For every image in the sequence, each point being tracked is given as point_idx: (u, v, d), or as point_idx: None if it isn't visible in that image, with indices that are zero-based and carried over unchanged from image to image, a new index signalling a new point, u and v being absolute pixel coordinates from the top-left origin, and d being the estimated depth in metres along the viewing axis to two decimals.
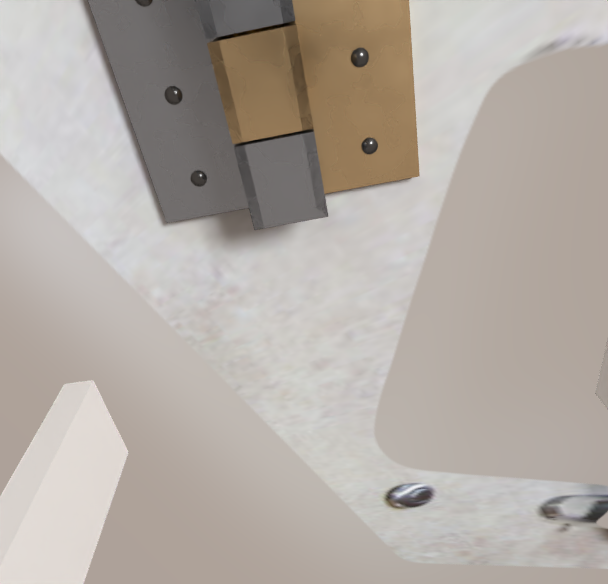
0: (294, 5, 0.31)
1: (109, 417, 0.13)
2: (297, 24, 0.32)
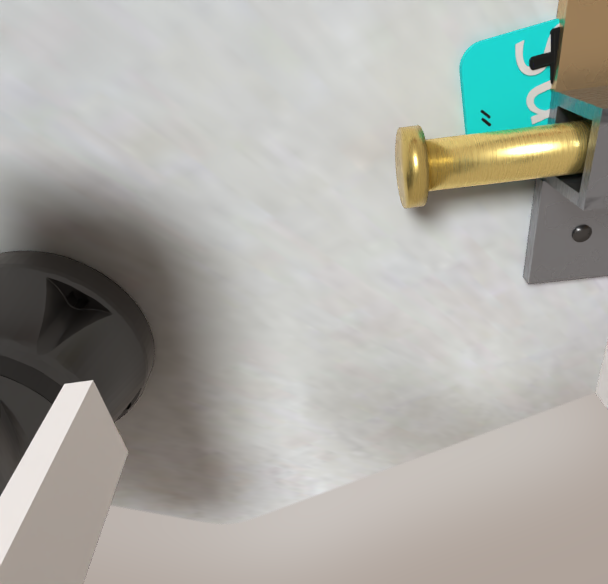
0: None
1: (109, 417, 0.13)
2: None
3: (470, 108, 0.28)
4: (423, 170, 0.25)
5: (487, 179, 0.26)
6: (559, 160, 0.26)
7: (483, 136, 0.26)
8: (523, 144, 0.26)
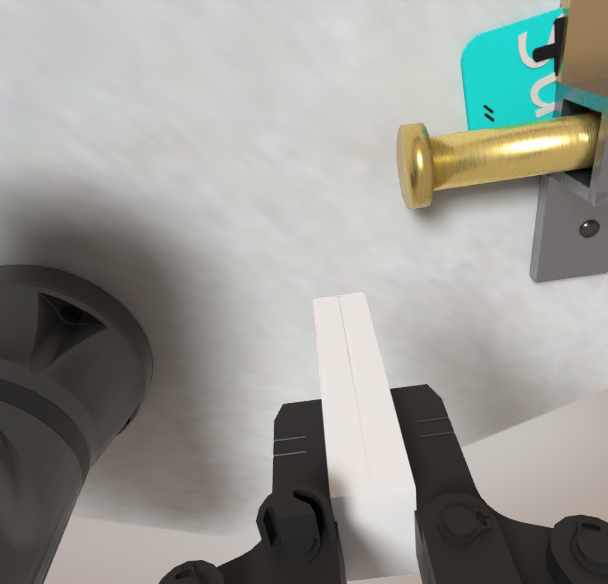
0: None
1: None
2: None
3: (472, 103, 0.27)
4: (428, 169, 0.24)
5: (494, 177, 0.26)
6: (568, 154, 0.25)
7: (488, 132, 0.25)
8: (531, 139, 0.25)
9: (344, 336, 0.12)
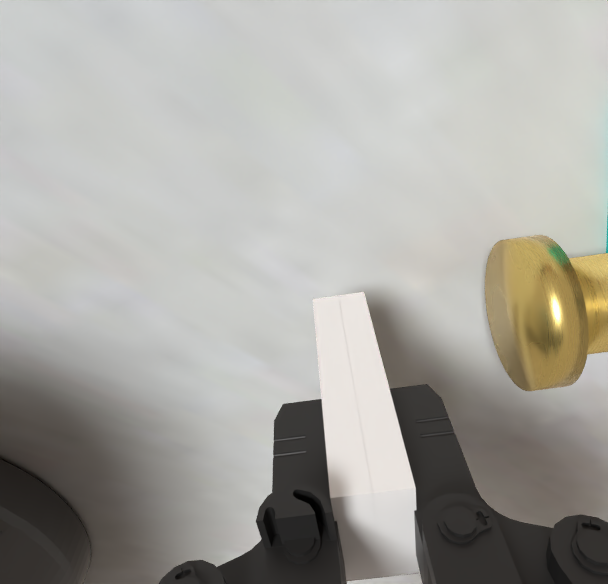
0: None
1: None
2: None
3: None
4: (577, 343, 0.12)
5: None
6: None
7: None
8: None
9: (344, 336, 0.12)
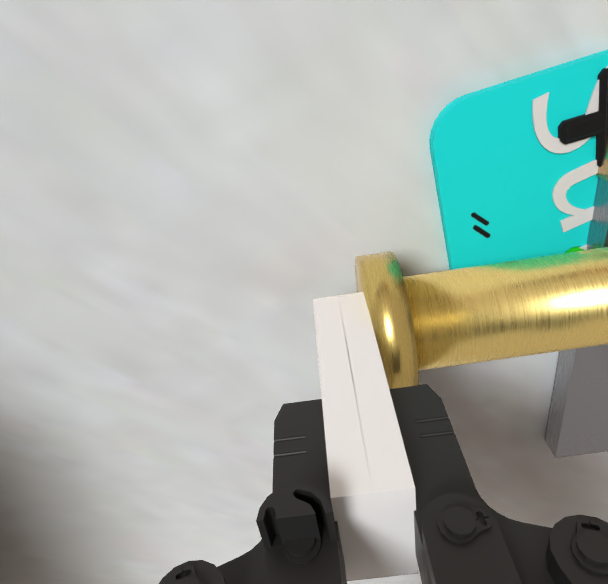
0: None
1: None
2: None
3: (452, 211, 0.16)
4: (406, 359, 0.12)
5: (530, 353, 0.14)
6: None
7: (520, 275, 0.13)
8: (601, 293, 0.13)
9: (344, 336, 0.12)
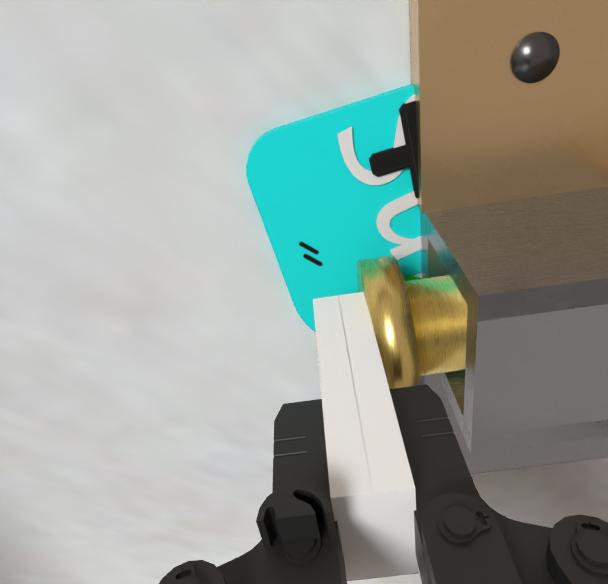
0: (597, 183, 0.15)
1: None
2: None
3: (280, 240, 0.16)
4: (407, 365, 0.12)
5: None
6: None
7: None
8: None
9: (344, 336, 0.12)
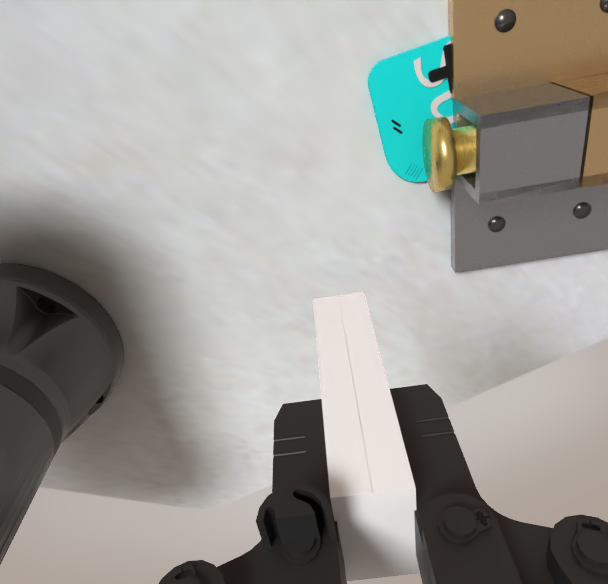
0: (539, 82, 0.30)
1: None
2: (556, 79, 0.30)
3: (381, 119, 0.32)
4: (451, 156, 0.28)
5: None
6: None
7: None
8: None
9: (344, 336, 0.12)
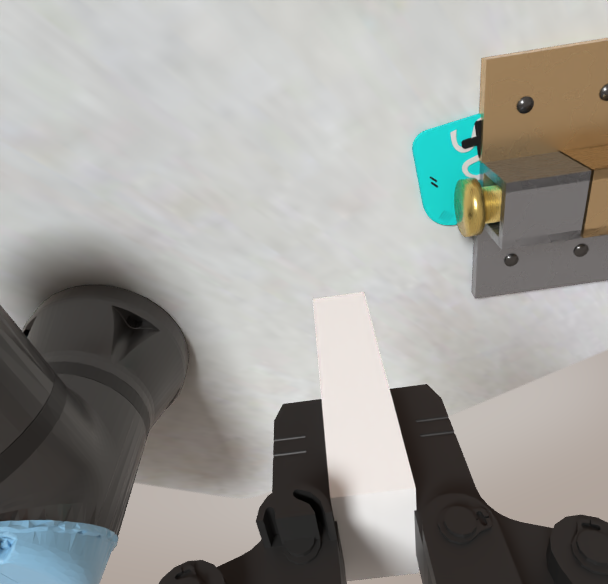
0: (549, 151, 0.38)
1: None
2: (563, 149, 0.38)
3: (422, 176, 0.39)
4: (481, 211, 0.35)
5: None
6: None
7: None
8: None
9: (344, 336, 0.12)
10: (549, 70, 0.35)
